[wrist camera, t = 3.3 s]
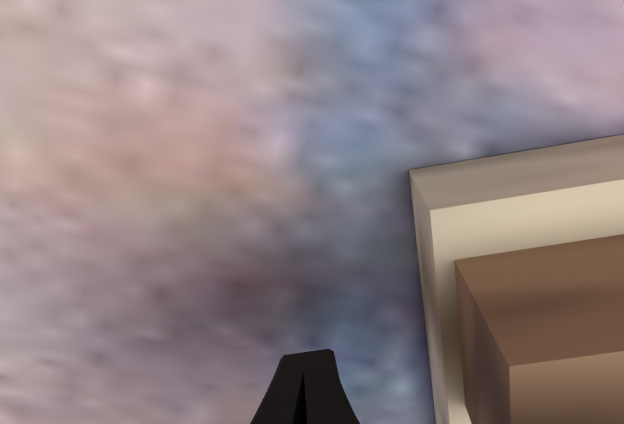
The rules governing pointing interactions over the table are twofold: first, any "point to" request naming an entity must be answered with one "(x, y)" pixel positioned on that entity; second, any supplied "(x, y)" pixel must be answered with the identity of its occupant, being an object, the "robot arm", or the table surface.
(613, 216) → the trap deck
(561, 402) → the walnut block
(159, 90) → the table surface
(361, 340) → the table surface
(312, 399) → the robot arm
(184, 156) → the table surface
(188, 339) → the table surface
